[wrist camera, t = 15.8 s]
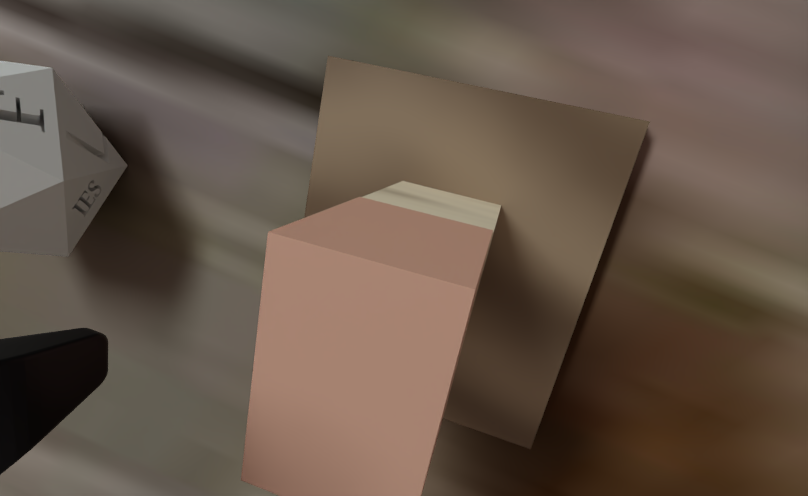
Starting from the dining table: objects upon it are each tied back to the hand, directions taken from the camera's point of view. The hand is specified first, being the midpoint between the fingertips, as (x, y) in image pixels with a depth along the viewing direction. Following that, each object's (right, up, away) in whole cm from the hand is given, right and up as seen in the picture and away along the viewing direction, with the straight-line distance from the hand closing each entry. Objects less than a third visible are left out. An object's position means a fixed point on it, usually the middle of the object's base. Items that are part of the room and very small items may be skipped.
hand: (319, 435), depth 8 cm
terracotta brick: (+1, +1, +6) cm, 6 cm away
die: (-15, +8, +15) cm, 23 cm away
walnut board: (+3, +3, +11) cm, 12 cm away
